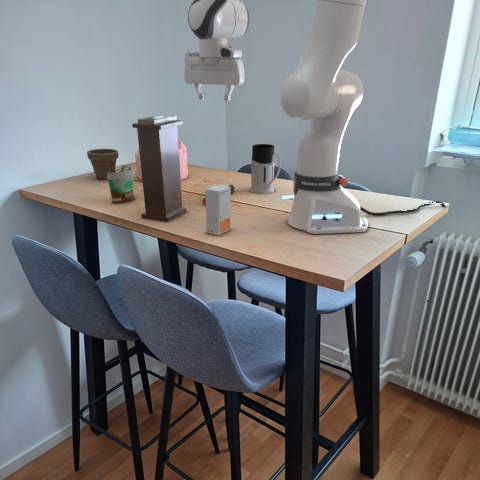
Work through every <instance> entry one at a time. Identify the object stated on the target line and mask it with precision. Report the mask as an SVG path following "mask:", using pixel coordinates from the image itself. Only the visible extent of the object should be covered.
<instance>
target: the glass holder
mask: <svg viewBox="0 0 480 480" xmlns="http://www.w3.org/2000/svg"><path fill="white" fill-rule="evenodd" d="M275 156H277V157H278V168H277V171H276V174H275ZM281 168H282V157H281V155H280V154H279V153H277V152H275V145H274V144H271V143H270V144H269V143H257V144H256V143H255V144H253V145H252V147H251V170H250V172H251V175H250V176H251V177H250V188H249V191H250V192H252V193H255V194H271V193H273V192H275V188H274V181H275V180H276V179H277V178H278V177H279V175H280V172H281Z"/></svg>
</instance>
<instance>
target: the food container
mask: <svg viewBox="0 0 480 480" xmlns="http://www.w3.org/2000/svg"><path fill="white" fill-rule="evenodd" d="M134 176H135V171H134V169H133V166H130V165H127V164H121V168H119V169H115V171H114V172H113V173H109V172H107V180H108V186H109V191H110V197H111V202H112V204H125V203H130V202H132V201H134Z"/></svg>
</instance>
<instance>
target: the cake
mask: <svg viewBox="0 0 480 480" xmlns="http://www.w3.org/2000/svg"><path fill="white" fill-rule="evenodd" d="M178 145H179V162H180V178H181V181H182V180H186V179H187V178H188V176H189V171H188V170H189V167H188V153H187V152H188V149H189V148H187V146H186V145H185V144H184V143H183V142H182V141H181V139H178ZM134 156H135V157H134V158H135V167H136V176H137V179H138V180H140V181H142V172H141V162H140V152H139V148H138V149H137V151H136V152H135V154H134Z"/></svg>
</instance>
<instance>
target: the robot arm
mask: <svg viewBox="0 0 480 480" xmlns="http://www.w3.org/2000/svg"><path fill="white" fill-rule="evenodd" d="M190 4H191V5H190V6H189V9H188V12H187V23H188V26H189V28H190V30H191V32H192V33H193V35H195V37H197V39H198V50H197V51H193V50H191V51H187V52H186V53H185V55H184V73H183V74H184V77H183V78H184V81H185V84H187V85H192V84H193V85H194V89H195V91H196V93H197V96H198V100H201V101H202V100H205V99H206V97H205V96H206V93H203V91H202V88H203V87H202V85H223V86H226V89H227V92H226V94H223V97H224V98H223V100H224V101H225V102H229V101H231V98H232V97H231V95H232V93H233V92H234V89H235V86H242V85H243V84H244V83H245V77H246V75H245V65H244V64H245V63H244V61H243V60H242V57H243V51H242V50H241V49H239V48H236V47H234V46H231V45H229V44H228V39H238V38H242V37H243V36H245V35H246V33H247V31H248V29H249V25H250V13H249V12H250V11H249V9H248V7H247V5H246V4H245V2H243V1H242V0H193V1H192V2H191V3H190ZM366 4H367V0H316V4H315V8H314V15H313V19H312V24H311V29H310V35H309V37H308V41H307V44H306V47H305V48H304V51H303V53H302V55H301V58H300V60H299V62H298V64H297V65H296V67H295V69H294V70H293V71H292V73H290V74H289V76H288V77H287V78H286V79H285V80H284V82H283V83H282V84H281V88H280V94H279V101H280V106H281V108H282V110H283V112H284V113H285V114H286V115H287V116H288V117H290V118H294V119H298V120H303V121H310V122H309V125H308V127H307V129H306V131H305V132H304V134H303V135H302V136H301V138H299V141H298V144H297V154H296V155H297V156H296V169H295V172H294V176H293V183H292V185H293V186H292V187H293V188H292V189H293V194H292V195H283V196H281V199H282V200H284V199H285V200H286V199H292V205H291V209H290V212H289V216H288V219H287V224H288V225H289V226H290V227H292V228H294V229H298V230H301V231H304V232H306V233H309V234H312V235H322V234H323V235H324V234H327V235H328V234H347V233H350V234H351V233H364V232H366V231H367V230H368V228H369V224H368V220H367V218H365V217H364V216H363V215H362V213H365V214H366V215H369V216H377V217H378V216H380V217H381V216H387V215H388V216H389V215H394V214H395V215H396V214H409V213H414V212H416V211H418V210H420V209H421V208H423V207H429V206H433V205H434V204H425V203H423V204H424V205H421V206H419V207H418V208H417V209H414V208H412V209H413V210H409V209H406V210H407V211H401V210H402V209H399V210H389V211H382V212H381V211H380V212H374V211H370V210H368V209H365V208H364V207H361V206H360V203H359V201H358V200H357V199H356V198H355V197H354V196H353V195H352V194H350V192H349V191H347V190H346V189H345V188H344V187H346V185H348V180H347V178H346V177H345V176H344V175H342V174H341V173H339V172H338V168H339V159H340V152H341V145H342V140H343V137H344V134H345V131H346V128H347V126H348V124H349V121H350V118H351V117H352V115H353V114H354V111H355V110H356V109H357V108H358V106H359V105H360V104H361V102H362V100H363V96H364V84H363V82H362V80H361V78H360V77H359V75H358V74H356V73H354V72H352V71H349V70H346V69H343V68H342V69H341V67H342V65H343V63H344V61H345V59H346V58H347V56H348V55H349V54H350V53H351V52H352V51H353V50H354V49H355V47H356V45H357V43H358V40H359V36H360V31H361V27H362V22H363V19H364V13H365V9H366ZM431 202H432V203H433V202H436V203H442V204H439V205H440V207H442V208H446V204H445V203H444V202H443V201H439V200H434V201H428V203H431ZM426 303H430V300H426Z"/></svg>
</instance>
